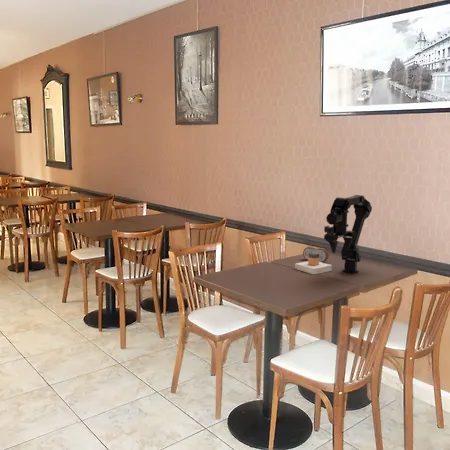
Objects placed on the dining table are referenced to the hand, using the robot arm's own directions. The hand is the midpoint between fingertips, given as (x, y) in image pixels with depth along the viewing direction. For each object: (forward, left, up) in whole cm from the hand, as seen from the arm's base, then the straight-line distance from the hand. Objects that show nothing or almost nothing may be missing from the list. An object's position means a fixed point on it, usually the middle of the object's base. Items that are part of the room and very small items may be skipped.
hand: (339, 252), depth 247 cm
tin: (-14, -30, -13) cm, 36 cm away
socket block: (+1, -17, -13) cm, 21 cm away
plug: (+1, -17, -13) cm, 21 cm away
